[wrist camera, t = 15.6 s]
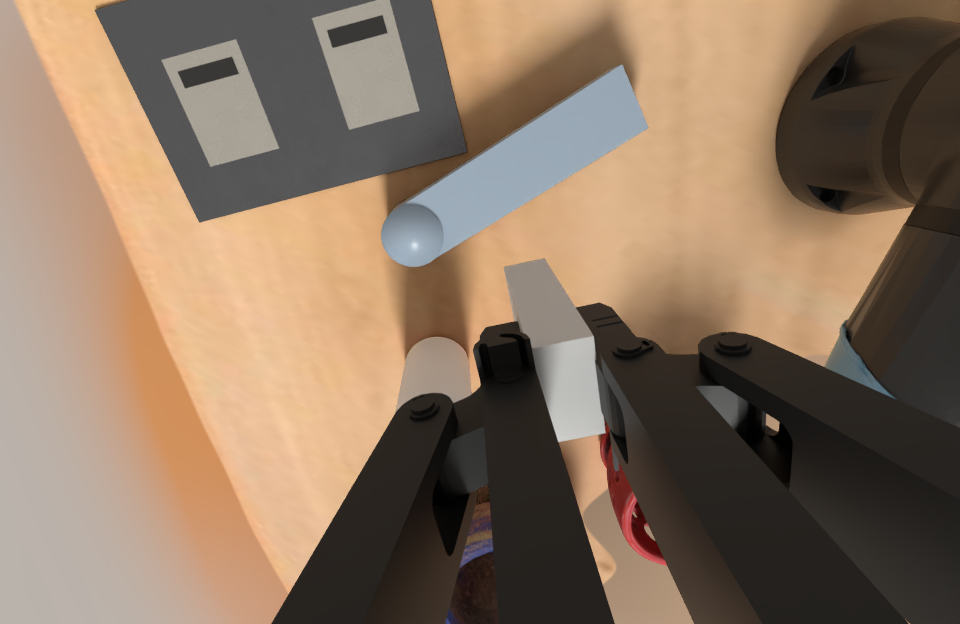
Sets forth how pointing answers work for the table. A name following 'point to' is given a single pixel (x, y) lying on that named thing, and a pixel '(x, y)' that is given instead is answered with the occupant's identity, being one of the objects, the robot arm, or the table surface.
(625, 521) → the plant pot
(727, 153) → the table surface
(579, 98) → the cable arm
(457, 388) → the can
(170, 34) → the label panel
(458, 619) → the bowl
